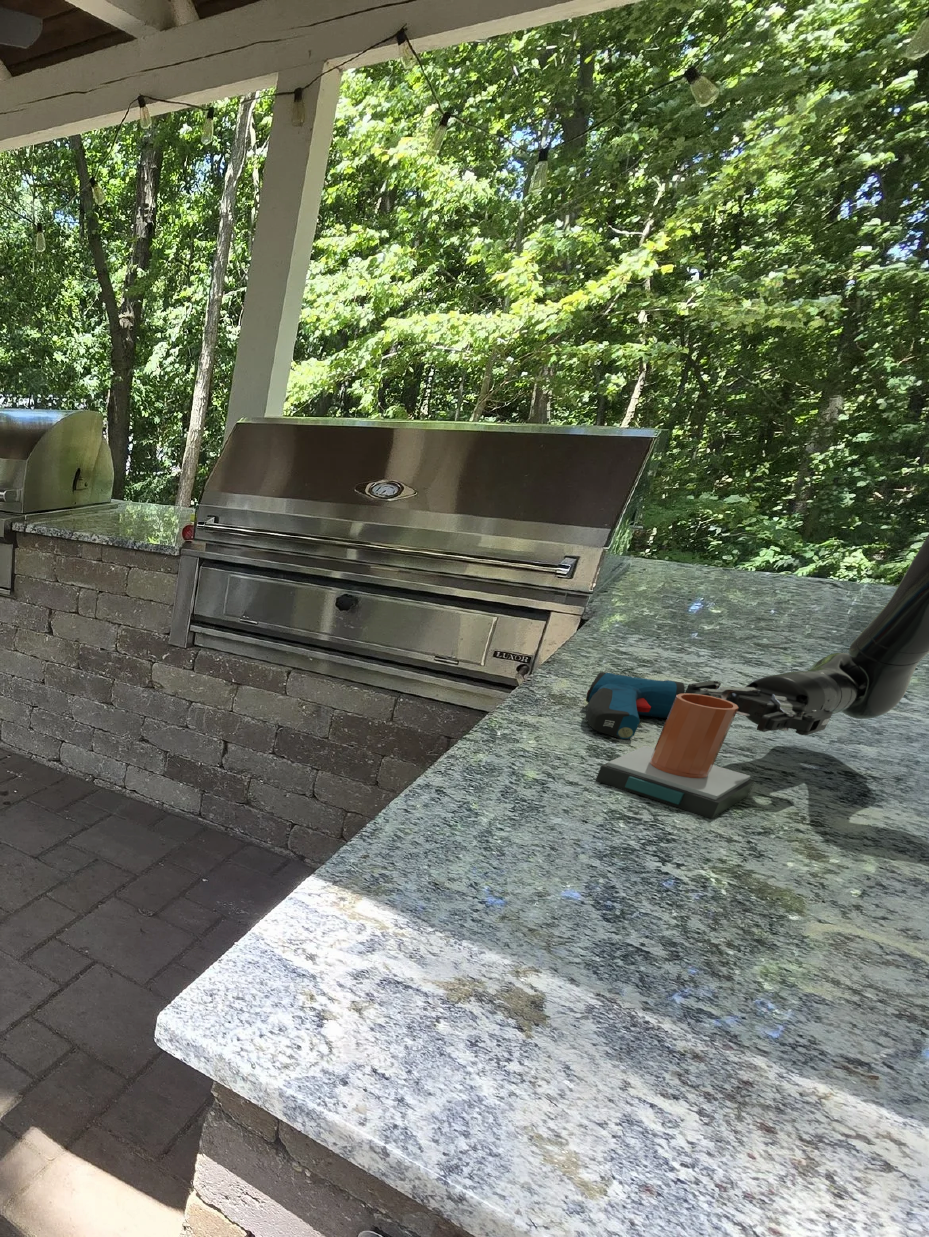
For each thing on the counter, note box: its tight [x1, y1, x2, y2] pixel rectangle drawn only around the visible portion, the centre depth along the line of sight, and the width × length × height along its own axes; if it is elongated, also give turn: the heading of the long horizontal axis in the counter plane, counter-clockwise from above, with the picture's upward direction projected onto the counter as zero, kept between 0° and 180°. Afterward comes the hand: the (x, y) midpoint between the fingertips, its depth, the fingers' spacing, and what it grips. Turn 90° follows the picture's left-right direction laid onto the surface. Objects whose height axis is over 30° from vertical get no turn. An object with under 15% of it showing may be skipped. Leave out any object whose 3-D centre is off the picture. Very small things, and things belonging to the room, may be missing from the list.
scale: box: [595, 745, 756, 820], centre depth 111 cm, size 13×14×3 cm
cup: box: [650, 693, 739, 778], centre depth 109 cm, size 6×6×10 cm
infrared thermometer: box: [585, 671, 686, 740], centre depth 134 cm, size 6×13×20 cm
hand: (723, 712), depth 110 cm, fingers open, 8 cm apart
